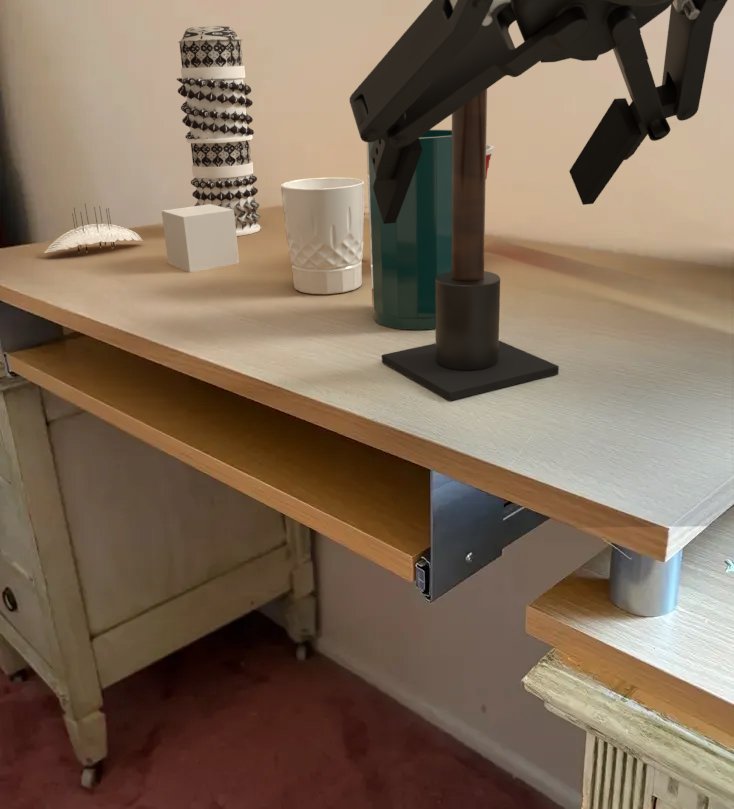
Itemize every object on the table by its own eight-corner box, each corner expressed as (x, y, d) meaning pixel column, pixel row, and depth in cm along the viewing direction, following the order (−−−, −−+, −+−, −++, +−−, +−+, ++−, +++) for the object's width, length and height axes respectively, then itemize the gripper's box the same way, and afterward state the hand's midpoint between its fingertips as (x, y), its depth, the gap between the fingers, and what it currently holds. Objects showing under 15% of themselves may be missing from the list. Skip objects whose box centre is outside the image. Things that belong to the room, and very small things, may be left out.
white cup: (276, 283, 84) (268, 182, 80) (346, 272, 87) (342, 175, 83) (307, 301, 77) (300, 191, 73) (382, 288, 80) (378, 183, 77)
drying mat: (482, 340, 65) (482, 333, 64) (558, 374, 57) (559, 365, 57) (381, 362, 61) (381, 354, 61) (449, 401, 53) (449, 392, 53)
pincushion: (51, 262, 97) (42, 213, 95) (40, 254, 102) (31, 207, 100) (150, 248, 103) (144, 201, 101) (135, 240, 108) (129, 196, 105)
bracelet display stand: (179, 234, 111) (154, 29, 101) (228, 222, 118) (209, 29, 108) (228, 240, 106) (207, 24, 96) (276, 227, 113) (261, 25, 103)
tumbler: (433, 298, 76) (432, 127, 71) (485, 319, 70) (488, 132, 64) (357, 313, 73) (349, 134, 67) (403, 335, 66) (399, 140, 61)
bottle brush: (474, 346, 62) (478, 32, 53) (510, 363, 58) (521, 29, 50) (424, 357, 60) (420, 34, 52) (458, 375, 56) (460, 30, 48)
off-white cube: (190, 272, 90) (183, 217, 88) (168, 264, 95) (161, 210, 92) (239, 263, 93) (234, 209, 91) (216, 255, 98) (210, 203, 95)
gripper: (385, -73, 28) (307, 266, 47) (938, -70, 35) (676, 226, 54) (335, -213, 31) (280, 162, 50) (858, -184, 38) (635, 136, 57)
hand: (485, 196), depth 52 cm, fingers open, 13 cm apart
